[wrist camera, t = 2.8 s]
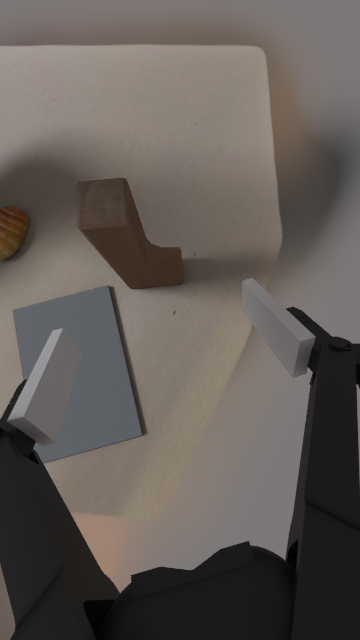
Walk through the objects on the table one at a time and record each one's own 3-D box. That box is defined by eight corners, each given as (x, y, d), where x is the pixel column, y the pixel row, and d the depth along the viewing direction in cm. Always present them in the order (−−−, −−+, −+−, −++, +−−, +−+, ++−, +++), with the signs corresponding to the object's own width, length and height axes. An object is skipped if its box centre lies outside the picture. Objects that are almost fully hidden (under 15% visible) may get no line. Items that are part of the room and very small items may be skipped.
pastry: (10, 205, 38) (-9, 189, 34) (41, 222, 38) (25, 208, 34) (-22, 248, 37) (-45, 237, 33) (10, 266, 37) (-10, 257, 33)
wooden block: (180, 259, 36) (178, 169, 18) (183, 284, 35) (183, 217, 18) (128, 264, 36) (74, 180, 18) (129, 289, 35) (75, 228, 18)
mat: (15, 310, 35) (12, 310, 35) (109, 286, 35) (108, 285, 35) (39, 462, 32) (36, 464, 31) (142, 433, 32) (142, 435, 32)
